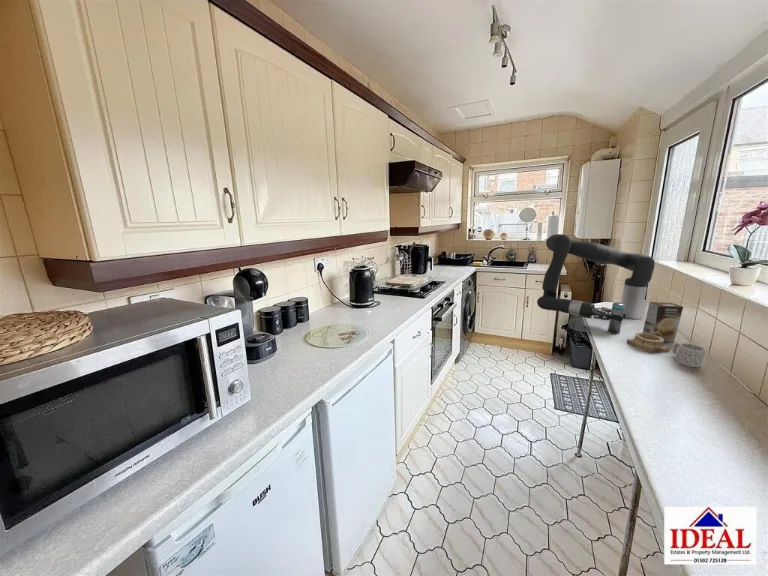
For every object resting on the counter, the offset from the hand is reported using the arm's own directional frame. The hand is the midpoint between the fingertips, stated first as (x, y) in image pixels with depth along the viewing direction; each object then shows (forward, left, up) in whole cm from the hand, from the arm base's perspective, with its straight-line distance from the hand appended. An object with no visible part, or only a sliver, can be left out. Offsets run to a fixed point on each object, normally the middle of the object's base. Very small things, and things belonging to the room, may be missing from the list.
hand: (623, 317), depth 136 cm
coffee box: (-11, +7, -8) cm, 16 cm away
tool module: (+2, -2, -8) cm, 8 cm away
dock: (+1, +14, -8) cm, 16 cm away
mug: (-1, +26, -8) cm, 27 cm away
